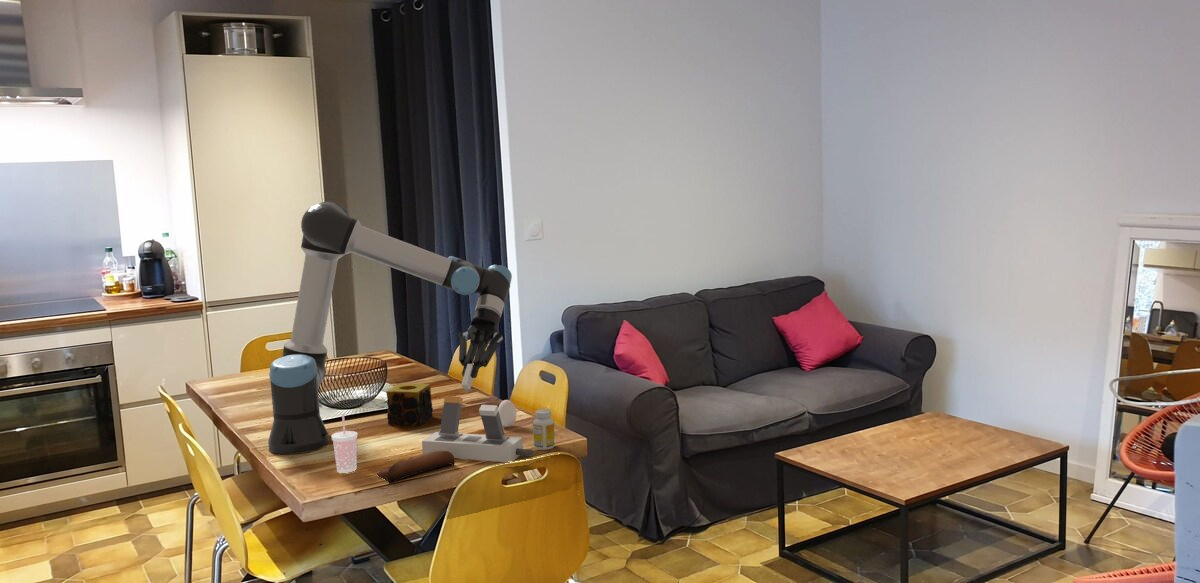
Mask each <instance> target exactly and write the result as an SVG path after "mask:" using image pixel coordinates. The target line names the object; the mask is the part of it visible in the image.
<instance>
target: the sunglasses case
mask: <svg viewBox="0 0 1200 583" xmlns="http://www.w3.org/2000/svg"><path fill="white" fill-rule="evenodd" d="M455 460H456V459H455V458H454V456H453V454H452V453H451V452H449V451H434V452H429V453H425V454H423V453H422V454H419V455H417V456H414V457H413V456H411V457H409V458H407V459H400V460H398V461H396V462H395V463H393V464H392V465H390V466H388V467H386V468H383V469H382V470H380V471H378V472H377V473H376V474H377V475H378V476H379V477H381V478H383V479H385V480H386V481H388V482H389V483H388V482H387V483H388V484H390V483H393V482H396V481H399V480H402V479H404V478H407V477H410V476H412V475H415V474H419V473H422V472H426V471H429V470H434V469H438V468H440V467H441V468H442V467H445V466H449V465H452V464H453V465H452V466H454V465H455V463H456V462H455ZM379 477H378V478H379ZM381 478H380V479H381ZM386 481H385V482H386Z"/></svg>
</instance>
